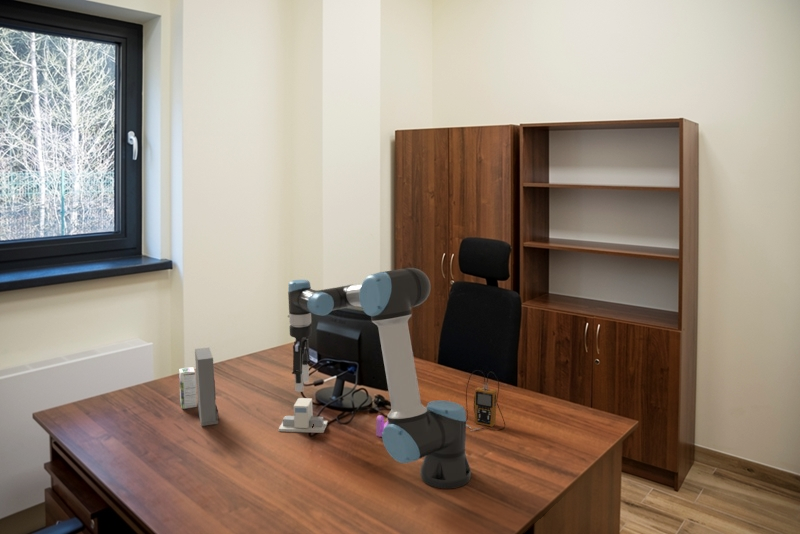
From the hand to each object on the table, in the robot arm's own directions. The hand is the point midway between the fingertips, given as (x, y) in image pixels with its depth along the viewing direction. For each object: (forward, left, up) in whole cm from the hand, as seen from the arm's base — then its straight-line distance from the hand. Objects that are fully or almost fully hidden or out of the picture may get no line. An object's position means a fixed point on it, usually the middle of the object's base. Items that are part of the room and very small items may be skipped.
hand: (302, 386), depth 230 cm
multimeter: (-26, -58, -16) cm, 65 cm away
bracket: (-14, -28, -16) cm, 35 cm away
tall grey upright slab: (+22, +30, -16) cm, 40 cm away
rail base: (0, 0, -15) cm, 15 cm away
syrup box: (+38, +35, -16) cm, 54 cm away
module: (0, 0, -14) cm, 14 cm away
